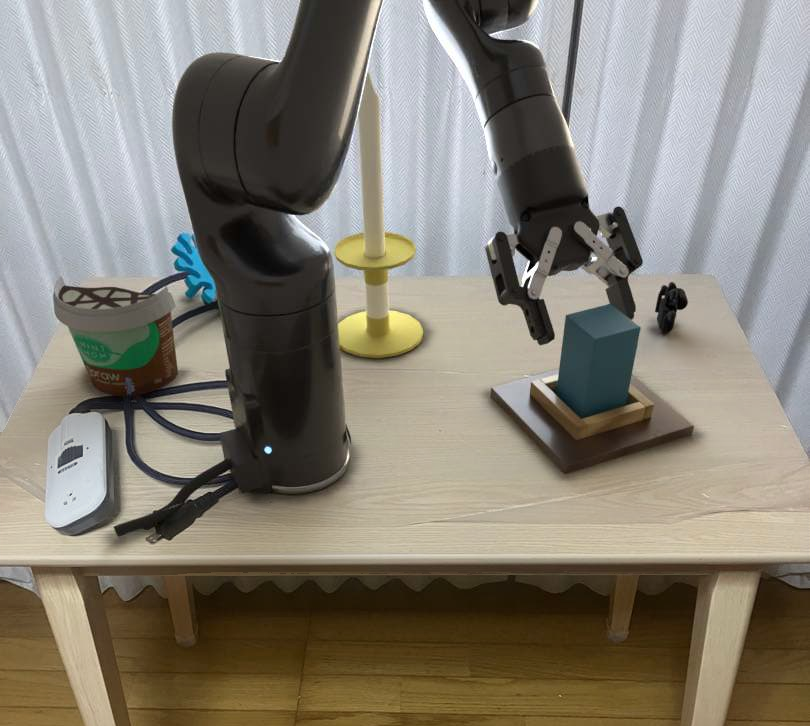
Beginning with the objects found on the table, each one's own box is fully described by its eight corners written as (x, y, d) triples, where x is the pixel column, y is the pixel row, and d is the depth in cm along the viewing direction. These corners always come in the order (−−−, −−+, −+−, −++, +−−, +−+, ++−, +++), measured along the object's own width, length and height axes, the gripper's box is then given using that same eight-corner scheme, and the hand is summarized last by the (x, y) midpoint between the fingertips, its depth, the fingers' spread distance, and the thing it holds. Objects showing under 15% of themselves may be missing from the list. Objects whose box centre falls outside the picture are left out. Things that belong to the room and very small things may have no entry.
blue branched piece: (224, 313, 96) (161, 241, 94) (195, 343, 99) (133, 273, 97) (270, 282, 104) (213, 215, 102) (242, 311, 108) (186, 246, 106)
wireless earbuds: (652, 312, 98) (660, 270, 95) (674, 313, 98) (684, 271, 94) (661, 344, 93) (670, 301, 89) (684, 345, 93) (694, 302, 89)
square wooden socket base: (565, 474, 77) (568, 452, 75) (490, 395, 86) (491, 374, 85) (692, 434, 81) (698, 412, 79) (607, 362, 90) (611, 341, 89)
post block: (582, 424, 81) (595, 339, 75) (555, 398, 84) (565, 314, 78) (625, 411, 82) (641, 327, 76) (596, 386, 85) (610, 303, 79)
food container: (54, 395, 88) (22, 305, 81) (83, 363, 92) (56, 275, 85) (167, 409, 86) (144, 318, 79) (191, 375, 90) (172, 286, 83)
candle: (400, 304, 100) (395, 44, 82) (438, 344, 94) (441, 71, 75) (320, 324, 97) (295, 58, 79) (353, 366, 91) (334, 88, 72)
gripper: (481, 156, 74) (538, 337, 74) (620, 130, 78) (674, 302, 78) (452, 196, 81) (504, 361, 81) (581, 170, 85) (630, 327, 85)
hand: (587, 332), depth 80 cm, fingers open, 8 cm apart
